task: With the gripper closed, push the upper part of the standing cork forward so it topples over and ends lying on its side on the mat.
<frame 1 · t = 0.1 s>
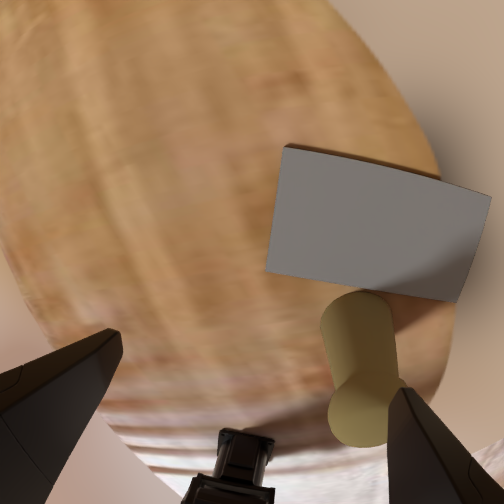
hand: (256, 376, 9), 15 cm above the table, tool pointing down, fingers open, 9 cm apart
cork: (356, 322, 25), on the table
mat: (385, 231, 21), on the table
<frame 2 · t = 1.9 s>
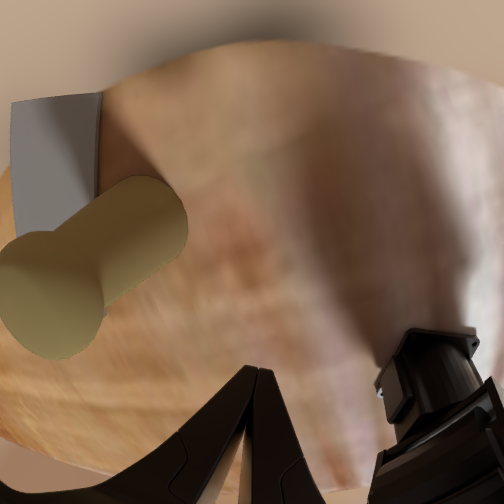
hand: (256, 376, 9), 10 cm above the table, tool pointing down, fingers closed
cork: (144, 222, 19), on the table
mat: (51, 207, 20), on the table
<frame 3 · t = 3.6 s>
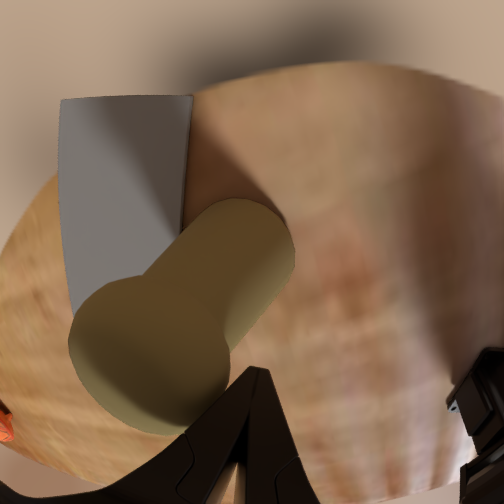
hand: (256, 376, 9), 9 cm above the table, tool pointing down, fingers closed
cork: (240, 251, 18), on the table, touching gripper
pot: (6, 411, 37), on the table
mat: (115, 227, 18), on the table
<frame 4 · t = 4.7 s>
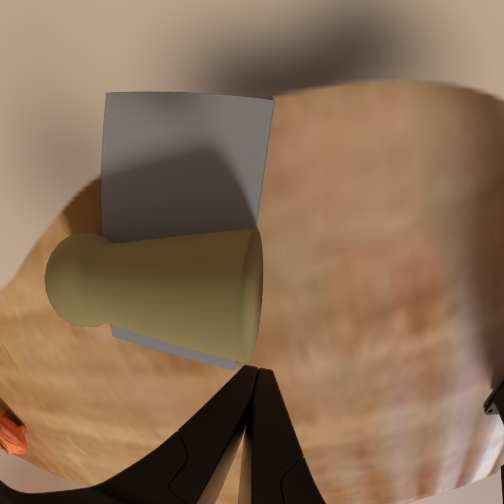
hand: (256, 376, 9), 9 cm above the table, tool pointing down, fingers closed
cork: (257, 296, 14), point 3 cm above the table, touching mat
pot: (18, 422, 36), on the table
mat: (172, 240, 17), on the table
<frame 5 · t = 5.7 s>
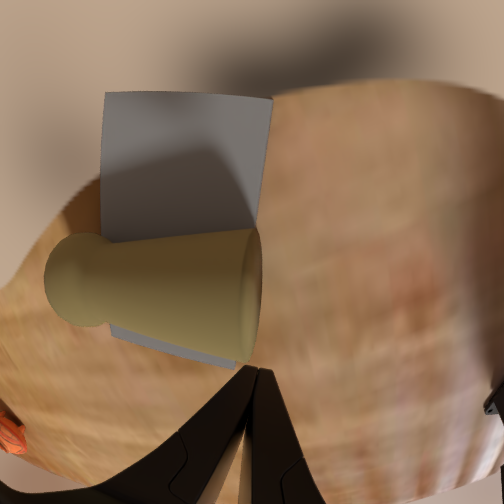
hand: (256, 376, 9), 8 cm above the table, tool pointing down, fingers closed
cork: (256, 296, 14), point 3 cm above the table, touching mat
pot: (18, 422, 36), on the table
mat: (171, 240, 17), on the table
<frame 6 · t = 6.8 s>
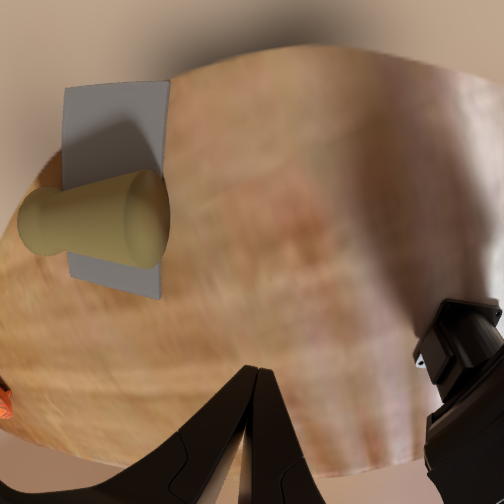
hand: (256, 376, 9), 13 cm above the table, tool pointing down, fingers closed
cork: (152, 219, 18), point 3 cm above the table, touching mat
pot: (6, 389, 40), on the table
mat: (108, 191, 22), on the table
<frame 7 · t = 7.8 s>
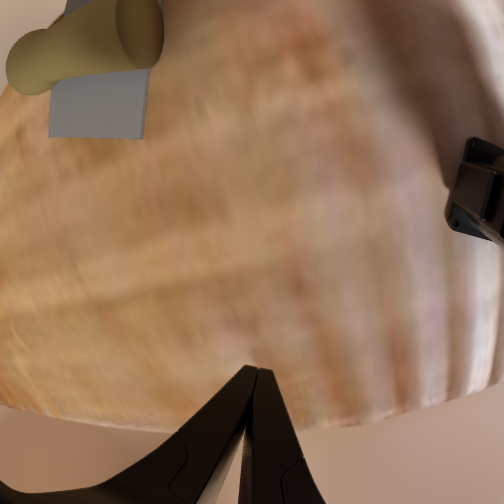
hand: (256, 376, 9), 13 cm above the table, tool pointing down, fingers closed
cork: (145, 22, 14), point 3 cm above the table, touching mat
mat: (103, 35, 17), on the table
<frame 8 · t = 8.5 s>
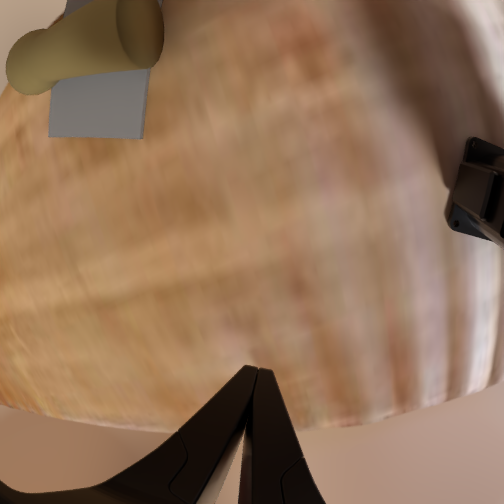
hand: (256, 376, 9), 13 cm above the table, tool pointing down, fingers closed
cork: (145, 22, 14), point 3 cm above the table, touching mat
mat: (103, 34, 17), on the table
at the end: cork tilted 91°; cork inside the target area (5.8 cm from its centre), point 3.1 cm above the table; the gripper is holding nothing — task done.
